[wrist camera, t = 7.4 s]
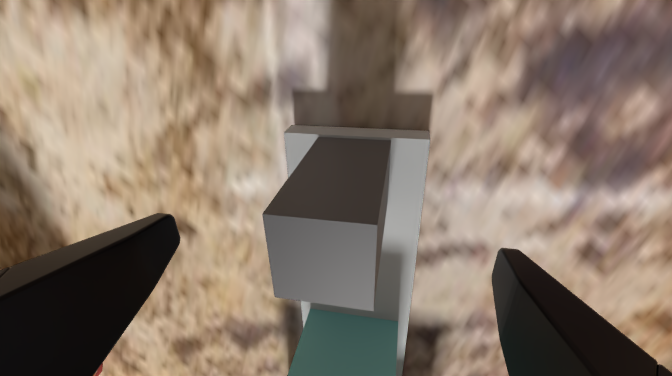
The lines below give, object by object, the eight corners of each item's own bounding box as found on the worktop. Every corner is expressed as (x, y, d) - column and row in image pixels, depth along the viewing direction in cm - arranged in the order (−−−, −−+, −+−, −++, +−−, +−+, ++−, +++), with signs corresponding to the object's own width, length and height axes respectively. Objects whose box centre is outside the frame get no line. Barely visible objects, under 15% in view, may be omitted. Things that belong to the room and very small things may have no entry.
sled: (396, 415, 22) (390, 554, 17) (315, 399, 24) (284, 525, 18) (428, 130, 13) (441, 227, 7) (291, 124, 14) (209, 205, 8)
